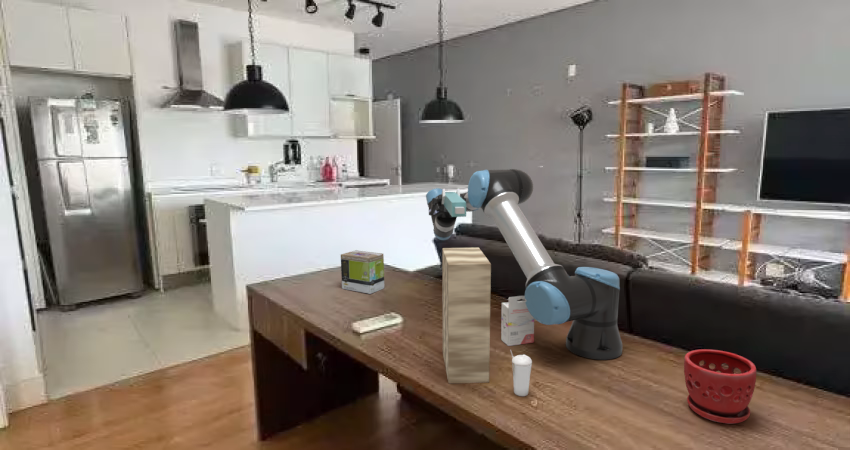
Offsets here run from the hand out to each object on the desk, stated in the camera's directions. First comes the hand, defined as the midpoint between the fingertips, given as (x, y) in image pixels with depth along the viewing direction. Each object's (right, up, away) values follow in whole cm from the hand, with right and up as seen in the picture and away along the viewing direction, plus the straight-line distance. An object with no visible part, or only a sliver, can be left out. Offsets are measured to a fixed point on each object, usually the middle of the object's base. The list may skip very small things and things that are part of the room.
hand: (451, 192), depth 152 cm
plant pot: (+55, -51, -49) cm, 89 cm away
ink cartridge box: (+19, -45, -11) cm, 50 cm away
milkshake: (+14, -50, -40) cm, 66 cm away
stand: (+2, -48, -27) cm, 55 cm away
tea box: (-34, -37, +42) cm, 65 cm away
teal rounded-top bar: (0, -6, -7) cm, 9 cm away
